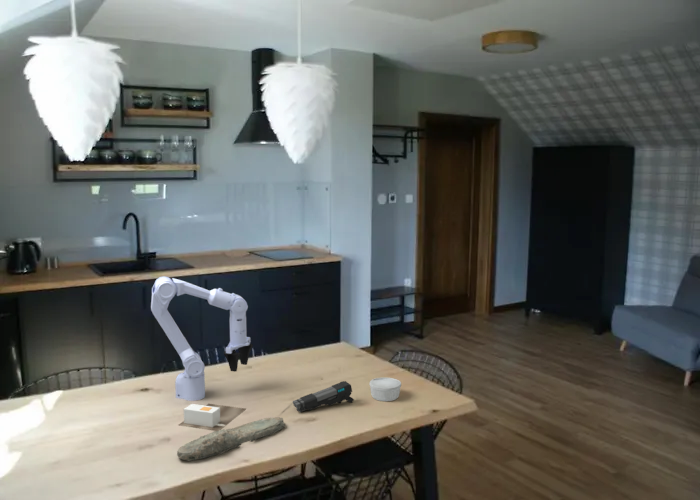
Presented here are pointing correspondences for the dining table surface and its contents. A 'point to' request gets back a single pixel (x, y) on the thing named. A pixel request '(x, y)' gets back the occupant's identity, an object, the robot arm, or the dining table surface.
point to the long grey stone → (228, 438)
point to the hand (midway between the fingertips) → (238, 367)
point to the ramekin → (385, 389)
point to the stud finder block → (202, 415)
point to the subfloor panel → (225, 417)
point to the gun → (325, 397)
